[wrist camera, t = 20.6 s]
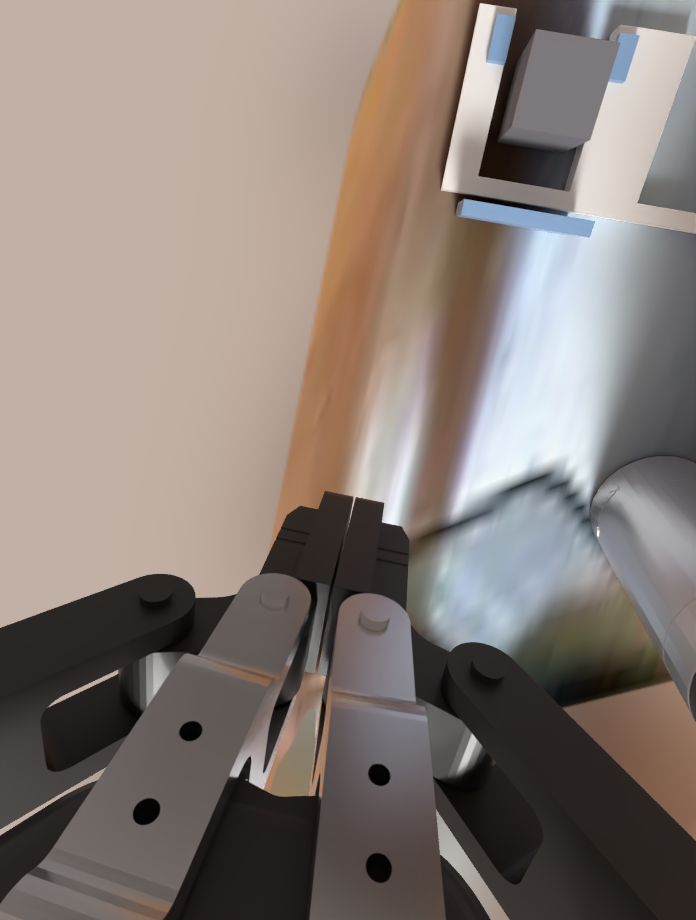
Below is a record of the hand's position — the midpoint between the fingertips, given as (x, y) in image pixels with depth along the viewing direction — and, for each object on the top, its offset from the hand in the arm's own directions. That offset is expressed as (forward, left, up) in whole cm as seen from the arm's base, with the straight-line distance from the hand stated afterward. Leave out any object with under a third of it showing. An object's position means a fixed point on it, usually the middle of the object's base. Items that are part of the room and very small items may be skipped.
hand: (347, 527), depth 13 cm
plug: (-6, -14, -27) cm, 31 cm away
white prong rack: (-11, -13, -27) cm, 32 cm away
